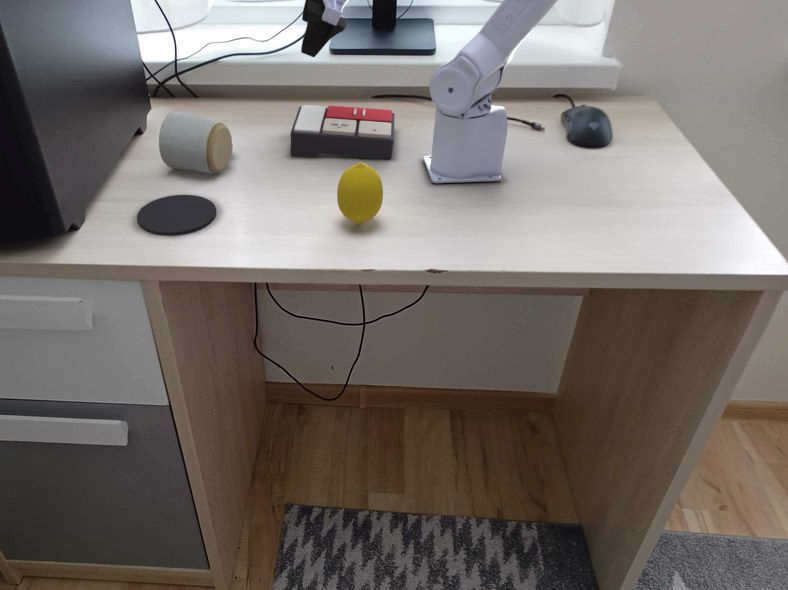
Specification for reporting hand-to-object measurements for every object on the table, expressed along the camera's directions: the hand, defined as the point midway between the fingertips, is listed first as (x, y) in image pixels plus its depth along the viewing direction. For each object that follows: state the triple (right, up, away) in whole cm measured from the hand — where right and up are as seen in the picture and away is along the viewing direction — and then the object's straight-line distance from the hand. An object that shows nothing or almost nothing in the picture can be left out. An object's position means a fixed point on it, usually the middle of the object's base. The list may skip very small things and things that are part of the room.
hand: (308, 37), depth 94 cm
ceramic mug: (-15, -18, +1) cm, 24 cm away
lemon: (+7, -30, -13) cm, 33 cm away
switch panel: (+5, -14, +6) cm, 16 cm away
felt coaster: (-17, -28, -11) cm, 34 cm away
